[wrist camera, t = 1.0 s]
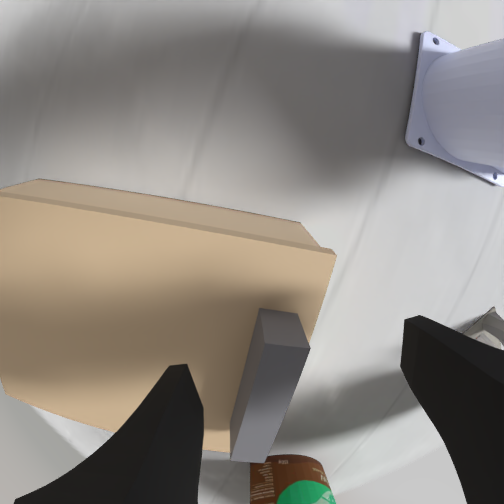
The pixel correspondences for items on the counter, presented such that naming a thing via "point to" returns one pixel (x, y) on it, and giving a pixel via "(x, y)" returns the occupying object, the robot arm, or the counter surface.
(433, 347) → the robot arm
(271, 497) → the food container
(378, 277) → the counter surface
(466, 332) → the skyscraper
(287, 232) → the box
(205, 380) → the lid
